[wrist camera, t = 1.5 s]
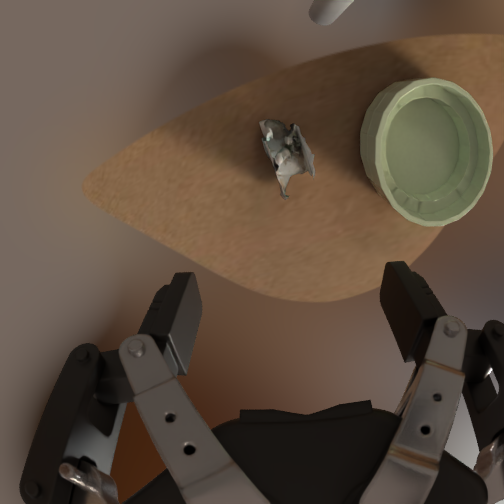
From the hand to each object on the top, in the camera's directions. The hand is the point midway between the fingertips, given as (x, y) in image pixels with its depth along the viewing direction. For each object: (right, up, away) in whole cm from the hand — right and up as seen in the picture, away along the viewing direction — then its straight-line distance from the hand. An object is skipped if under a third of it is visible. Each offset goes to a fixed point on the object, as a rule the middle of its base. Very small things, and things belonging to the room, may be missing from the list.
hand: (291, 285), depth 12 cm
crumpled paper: (+2, +12, +16) cm, 20 cm away
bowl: (+17, +13, +14) cm, 26 cm away
